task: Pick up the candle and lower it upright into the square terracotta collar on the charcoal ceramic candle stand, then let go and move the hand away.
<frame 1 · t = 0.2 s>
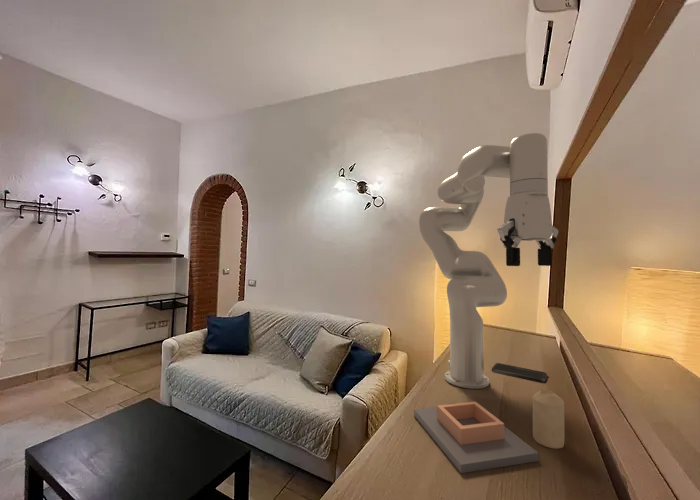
hand: (529, 265, 71), 36 cm above the table, tool pointing down, fingers open, 9 cm apart
phone: (518, 374, 102), on the table
candle stand: (468, 435, 67), on the table
candle: (548, 441, 65), on the table
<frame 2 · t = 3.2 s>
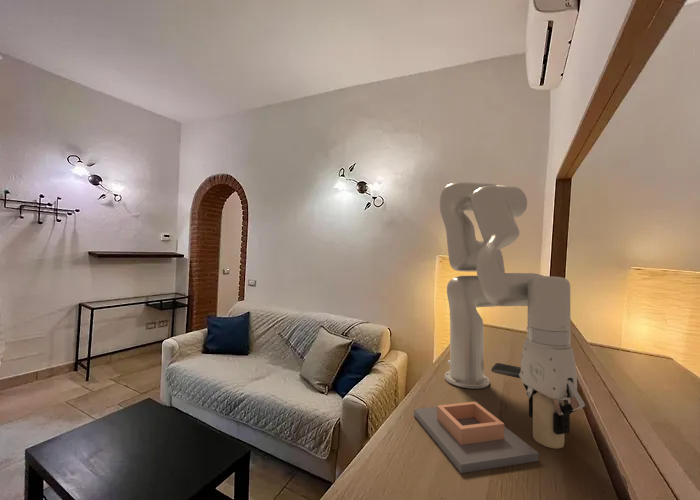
hand: (548, 423, 65), 4 cm above the table, tool pointing down, fingers closed on candle, 5 cm apart
candle: (548, 441, 65), on the table, touching gripper
everything else where it was.
when the fingers open (6 cm above the table, at t = 8.8 s): candle stays where it is, resting on candle stand.
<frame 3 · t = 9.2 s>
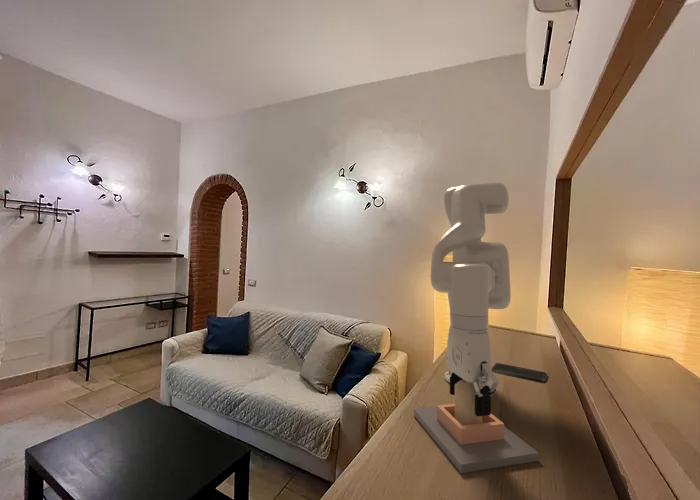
hand: (468, 403, 67), 7 cm above the table, tool pointing down, fingers open, 9 cm apart
candle: (468, 428, 67), point 1 cm above the table, touching candle stand
everything else where it was.
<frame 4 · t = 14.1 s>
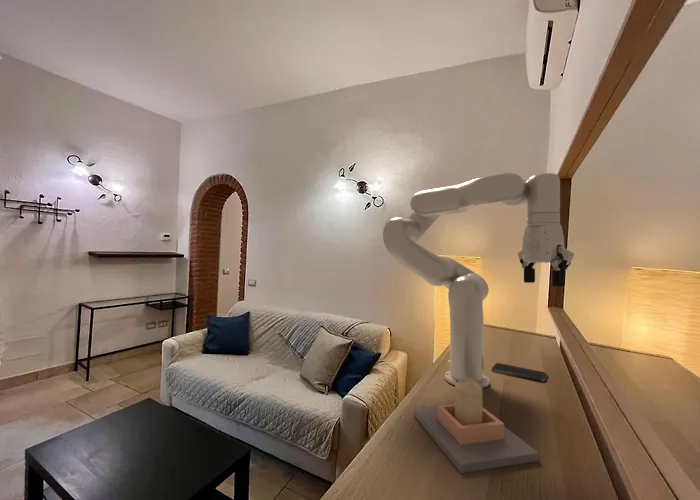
hand: (543, 284, 85), 30 cm above the table, tool pointing down, fingers open, 9 cm apart
nothing on the table moved.
at the end: candle 0.3 cm off-centre on the candle stand, point 1.3 cm above the candle stand's base; candle tilted 0°; the gripper is holding nothing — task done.
